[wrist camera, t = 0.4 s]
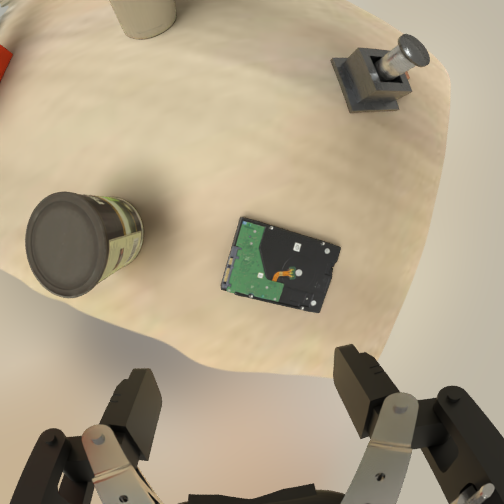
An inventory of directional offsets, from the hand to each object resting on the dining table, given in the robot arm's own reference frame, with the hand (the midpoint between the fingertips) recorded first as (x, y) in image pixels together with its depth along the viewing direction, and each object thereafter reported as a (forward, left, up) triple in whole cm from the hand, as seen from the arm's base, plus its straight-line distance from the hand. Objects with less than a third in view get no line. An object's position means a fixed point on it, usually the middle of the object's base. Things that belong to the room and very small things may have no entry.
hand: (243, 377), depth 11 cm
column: (-22, +30, -26) cm, 45 cm away
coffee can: (-8, -14, -28) cm, 32 cm away
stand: (-22, +30, -28) cm, 46 cm away
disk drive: (+3, +8, -28) cm, 29 cm away
